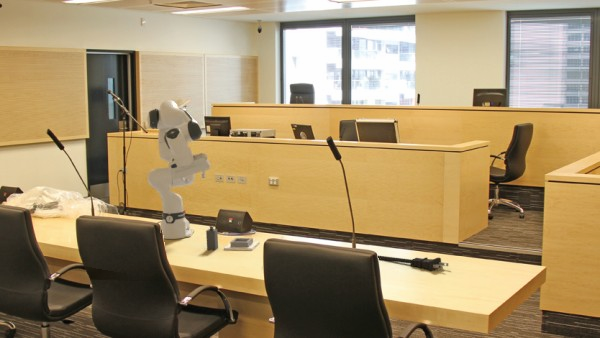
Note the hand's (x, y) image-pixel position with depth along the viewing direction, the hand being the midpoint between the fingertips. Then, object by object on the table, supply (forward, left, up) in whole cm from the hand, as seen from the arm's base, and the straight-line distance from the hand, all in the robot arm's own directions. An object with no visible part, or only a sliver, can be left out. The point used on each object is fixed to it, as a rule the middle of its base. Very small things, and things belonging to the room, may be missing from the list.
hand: (195, 179), depth 371 cm
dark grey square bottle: (-6, +5, -37) cm, 38 cm away
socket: (-12, +19, -37) cm, 43 cm away
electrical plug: (+15, +106, -38) cm, 113 cm away
